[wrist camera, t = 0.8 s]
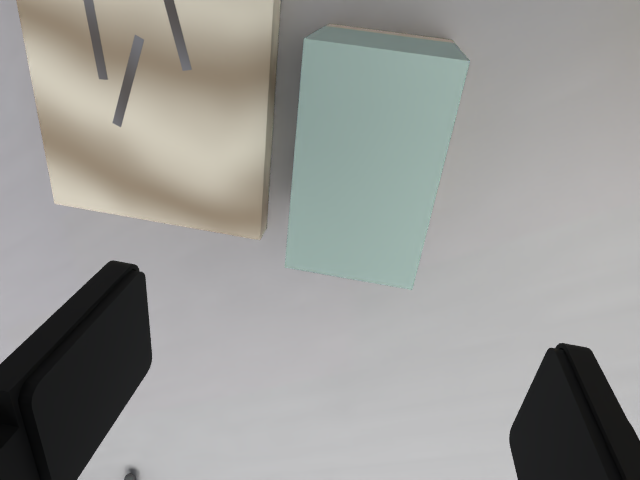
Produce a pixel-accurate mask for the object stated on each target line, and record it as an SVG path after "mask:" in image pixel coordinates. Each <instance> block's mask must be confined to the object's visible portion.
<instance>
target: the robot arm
mask: <svg viewBox="0 0 640 480" xmlns="http://www.w3.org/2000/svg"><path fill="white" fill-rule="evenodd" d="M151 362H152V349H151V338H150V326H149V314H148V302H147V291H146V279H145V274H144V273H143V272H139V268H138V266H137V265H135V264H129V263H124V262H119V261H110V262H108V263H107V264H106V265H105V266H104V267H103V268H102V269H101V270H100V271H99V272H98V273H96V274H95V275H94V276H93V277H92V278H91V279H90V280H89V281H88V282H87V283H86V284H85V285H84V286H83V287H82V288H81V289H79V290H78V291H77V292H76V293H75V294H74V295H73V296H72V297H71V298H70V299H69V300H68V301H67V302H66V303H65V304H64V305H63V306H61V307H60V308H59V309H58V310H57V311H56V312H55V313H54V314H53V315H52V316H51V317H50V318H49V319H48V320H47V321H46V322H45V323H43V324H42V325H41V326H40V327H39V328H38V329H37V330H36V331H35V332H34V333H33V334H32V335H31V336H30V337H29V338H28V339H26V340H25V341H24V342H23V343H22V344H21V345H20V346H19V347H18V348H17V349H16V350H15V351H14V352H13V353H12V354H11V355H10V356H8V357H7V358H6V359H5V360H4V361H3V362H2V363H1V364H0V480H77V479H78V477H79V476H80V474H81V473H82V471H83V470H84V468H85V467H86V465H87V464H88V462H89V460H90V459H91V457H92V456H93V454H94V453H95V451H96V450H97V448H98V447H99V445H100V444H101V442H102V441H103V439H104V438H105V436H106V435H107V433H108V432H109V430H110V429H111V427H112V425H113V424H114V422H115V421H116V419H117V418H118V416H119V415H120V413H121V412H122V410H123V409H124V407H125V406H126V404H127V403H128V401H129V400H130V398H131V397H132V395H133V394H134V392H135V390H136V389H137V387H138V386H139V384H140V383H141V381H142V380H143V378H144V377H145V375H146V374H147V372H148V370H149V368H150V365H151ZM509 441H510V448H511V452H512V456H513V460H514V465H515V469H516V473H517V477H518V480H640V440H639V438H638V436H637V435H636V433H635V431H634V429H633V427H632V426H631V424H630V423H629V421H628V420H627V418H626V416H625V414H624V412H623V410H622V408H621V406H620V404H619V402H618V400H617V398H616V397H615V395H614V393H613V391H612V389H611V387H610V385H609V383H608V381H607V379H606V377H605V375H604V373H603V372H602V370H601V368H600V366H599V364H598V362H597V360H596V358H595V356H594V354H593V352H592V351H591V350H590V349H589V348H586V347H581V346H575V345H570V344H565V343H559V344H558V345H557V346H556V348H549V349H548V350H547V352H546V354H545V356H544V358H543V360H542V362H541V365H540V367H539V369H538V371H537V373H536V375H535V378H534V380H533V382H532V384H531V386H530V388H529V390H528V393H527V395H526V397H525V399H524V401H523V403H522V406H521V408H520V410H519V412H518V414H517V416H516V418H515V421H514V423H513V425H512V427H511V430H510V437H509Z"/></svg>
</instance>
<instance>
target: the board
mask: <svg viewBox="0 0 640 480" xmlns="http://www.w3.org/2000/svg"><path fill="white" fill-rule="evenodd" d="M16 1H17V6H18V12H19V17H20V22H21V28H22V33H23V38H24V43H25V49H26V54H27V59H28V65H29V70H30V75H31V81H32V86H33V91H34V97H35V102H36V107H37V113H38V118H39V123H40V128H41V134H42V139H43V144H44V150H45V155H46V160H47V166H48V171H49V176H50V182H51V187H52V192H53V198H54V203H55V204H58V205H64V206H70V207H75V208H81V209H87V210H92V211H98V212H104V213H109V214H115V215H121V216H126V217H132V218H138V219H143V220H149V221H154V222H160V223H166V224H171V225H177V226H183V227H188V228H194V229H200V230H205V231H211V232H217V233H222V234H228V235H234V236H239V237H245V238H251V239H256V240H261V238H262V236H263V234H264V232H265V230H266V229H267V213H268V197H269V181H270V165H271V149H272V133H273V117H274V101H275V85H276V69H277V53H278V38H279V22H280V6H281V0H16Z"/></svg>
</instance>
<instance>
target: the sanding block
mask: <svg viewBox="0 0 640 480" xmlns="http://www.w3.org/2000/svg"><path fill="white" fill-rule="evenodd" d="M469 63H470V60H469V59H468V58H467V57H466V56H465V55H464V53H463V52H462V51H461V50H460V49H459V48H458V46H457V45H456V44H455V43H454V42H453V41H452V40H449V39H441V38H434V37H426V36H419V35H411V34H404V33H396V32H388V31H381V30H373V29H366V28H358V27H351V26H343V25H336V24H328V25H326V26H324V27H323V28H321V29H319V30H317V31H316V32H314V33H312V34H311V35H309V36H307V37H306V38H304V43H303V55H302V67H301V79H300V91H299V103H298V114H297V126H296V138H295V150H294V162H293V174H292V186H291V198H290V210H289V222H288V234H287V246H286V258H285V268H291V269H296V270H302V271H308V272H313V273H319V274H325V275H330V276H336V277H342V278H347V279H353V280H359V281H364V282H370V283H376V284H381V285H387V286H393V287H398V288H404V289H410V290H412V289H413V285H414V281H415V277H416V273H417V269H418V265H419V261H420V257H421V253H422V249H423V245H424V242H425V238H426V234H427V230H428V226H429V222H430V218H431V214H432V210H433V206H434V202H435V198H436V194H437V190H438V186H439V182H440V178H441V174H442V170H443V166H444V162H445V158H446V154H447V150H448V146H449V142H450V139H451V135H452V131H453V127H454V123H455V119H456V115H457V111H458V107H459V103H460V99H461V95H462V91H463V87H464V83H465V79H466V75H467V71H468V67H469Z"/></svg>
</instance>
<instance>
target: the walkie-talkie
mask: <svg viewBox="0 0 640 480" xmlns="http://www.w3.org/2000/svg"><path fill="white" fill-rule="evenodd" d="M124 480H136V479H135V477H134V476H133V474H131V473H129V474H127V475H126V476H125V479H124Z"/></svg>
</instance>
